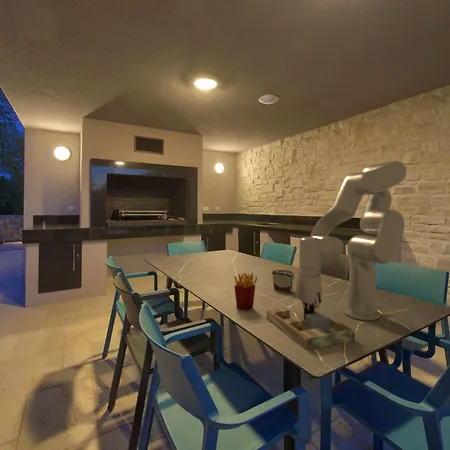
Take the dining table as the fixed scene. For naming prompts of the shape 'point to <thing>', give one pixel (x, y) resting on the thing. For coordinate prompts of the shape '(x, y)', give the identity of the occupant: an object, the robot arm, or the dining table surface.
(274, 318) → the channel
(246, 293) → the french fries
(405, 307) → the dining table surface
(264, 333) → the dining table surface
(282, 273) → the food container
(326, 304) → the dining table surface
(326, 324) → the block
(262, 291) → the dining table surface
